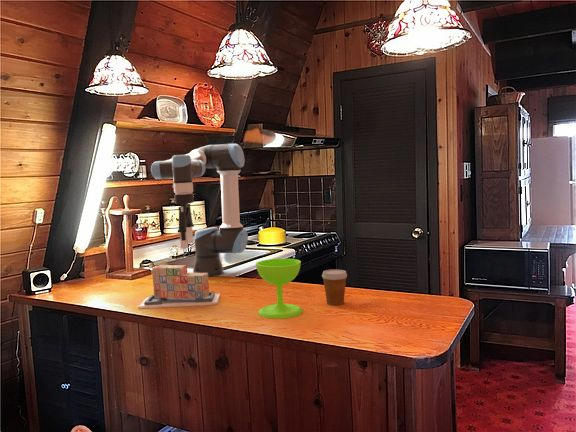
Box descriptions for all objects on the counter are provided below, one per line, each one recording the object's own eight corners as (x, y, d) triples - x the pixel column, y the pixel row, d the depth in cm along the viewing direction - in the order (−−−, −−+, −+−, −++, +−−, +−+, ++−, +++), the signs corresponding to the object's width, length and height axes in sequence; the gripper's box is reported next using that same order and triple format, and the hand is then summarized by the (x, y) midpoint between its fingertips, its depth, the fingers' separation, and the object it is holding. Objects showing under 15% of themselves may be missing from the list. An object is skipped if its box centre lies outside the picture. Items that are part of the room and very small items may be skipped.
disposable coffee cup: (330, 308, 181) (329, 275, 180) (318, 302, 190) (317, 271, 189) (353, 304, 185) (352, 272, 184) (339, 298, 194) (338, 268, 193)
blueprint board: (146, 299, 205) (146, 294, 205) (220, 295, 206) (219, 290, 206) (138, 308, 191) (138, 303, 191) (217, 304, 192) (216, 299, 192)
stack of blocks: (209, 295, 198) (208, 265, 197) (202, 299, 192) (201, 268, 191) (161, 294, 204) (159, 264, 203) (153, 298, 198) (151, 267, 197)
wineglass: (286, 303, 189) (284, 256, 188) (311, 312, 176) (309, 262, 175) (250, 311, 181) (247, 262, 179) (273, 321, 167) (271, 268, 166)
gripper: (179, 192, 212) (183, 241, 215) (168, 196, 188) (172, 251, 190) (197, 191, 213) (200, 240, 215) (188, 195, 188) (192, 250, 190)
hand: (187, 245), depth 203 cm, fingers open, 13 cm apart
